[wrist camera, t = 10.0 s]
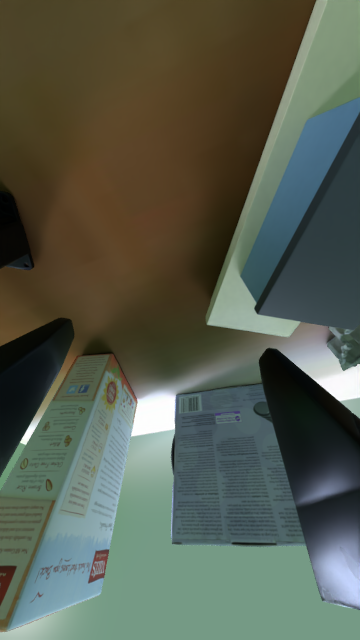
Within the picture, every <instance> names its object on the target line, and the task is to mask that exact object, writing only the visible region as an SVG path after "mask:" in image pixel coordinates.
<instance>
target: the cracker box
mask: <svg viewBox="0 0 360 640" xmlns="http://www.w3.org/2000/svg"><path fill="white" fill-rule="evenodd" d="M136 407H137V399H136V397H135V395H134V393H133V392H132V390H131V388H130V386H129V384H128V382H127V380H126V378H125V376H124V374H123V372H122V370H121V368H120V366H119V365H118V362H117V361H116V359H115V357H114V355H113V354H98V355H84V356H77V357H76V359H75V360H74V362H73V364H72V366H71V367H70V369H69V371H68V372H67V374H66V376H65V378H64V380H63V381H62V383H61V385H60V386H59V388H58V390H57V392H56V394H55V395H54V397H53V399H52V401H51V402H50V404H49V406H48V408H47V409H46V411H45V413H44V415H43V416H42V418H41V420H40V422H39V423H38V425H37V427H36V429H35V431H34V432H33V434H32V436H31V438H30V439H29V441H28V443H27V445H26V446H25V448H24V450H23V452H22V454H21V456H20V457H19V459H18V461H17V462H16V464H15V466H14V468H13V469H12V471H11V473H10V475H9V476H8V478H7V480H6V482H5V483H4V485H3V487H2V489H1V490H0V632H7V631H10V630H13V629H16V628H18V627H21V626H23V625H26V624H29V623H31V622H33V621H36V620H39V619H41V618H43V617H46V616H49V615H51V614H54V613H56V612H58V611H61V610H63V609H65V608H68V607H70V606H73V605H75V604H78V603H81V602H83V601H86V600H88V599H91V598H93V597H96V596H98V595H100V593H101V590H102V585H103V580H104V575H105V569H106V564H107V559H108V554H109V548H110V542H111V538H112V532H113V527H114V522H115V516H116V511H117V506H118V501H119V494H120V490H121V484H122V479H123V474H124V469H125V464H126V459H127V453H128V448H129V443H130V438H131V433H132V428H133V422H134V417H135V412H136Z"/></svg>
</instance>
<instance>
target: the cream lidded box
mask: <svg viewBox="0 0 360 640" xmlns="http://www.w3.org/2000/svg"><path fill="white" fill-rule="evenodd" d="M358 97H360V0H316V3H315V6H314V9H313V12H312V14H311V17H310V20H309V23H308V26H307V29H306V31H305V34H304V37H303V40H302V43H301V46H300V48H299V51H298V54H297V57H296V60H295V63H294V65H293V68H292V71H291V74H290V77H289V80H288V82H287V85H286V88H285V91H284V94H283V97H282V99H281V102H280V105H279V108H278V111H277V114H276V116H275V119H274V122H273V125H272V128H271V131H270V133H269V136H268V139H267V142H266V145H265V148H264V150H263V153H262V156H261V159H260V162H259V165H258V167H257V170H256V173H255V176H254V179H253V182H252V185H251V187H250V190H249V193H248V196H247V199H246V202H245V204H244V207H243V210H242V213H241V216H240V219H239V221H238V224H237V227H236V230H235V233H234V236H233V238H232V241H231V244H230V247H229V250H228V253H227V255H226V258H225V261H224V264H223V267H222V270H221V272H220V275H219V278H218V281H217V284H216V287H215V289H214V292H213V295H212V298H211V303H210V306H209V309H208V312H207V314H206V317H205V318H206V323H207V325H212V326H219V327H225V328H232V329H238V330H245V331H251V332H258V333H264V334H271V335H277V336H284V337H289V336H290V335H291V334H292V332H293V331H294V330H295V329H296V327H297V326H298V325H299V323H300V321H294V320H287V319H281V318H275V317H269V316H263V315H258V314H257V313H256V311H255V310H254V307H255V305H256V302H255V300H254V298H253V297H252V295H251V293H250V292H249V290H248V288H247V287H246V285H245V283H244V282H243V280H242V278H241V277H240V275H241V273H242V271H243V268H244V266H245V264H246V261H247V259H248V257H249V254H250V252H251V250H252V247H253V245H254V243H255V240H256V238H257V236H258V233H259V231H260V229H261V226H262V224H263V222H264V219H265V217H266V215H267V212H268V210H269V207H270V205H271V203H272V200H273V198H274V196H275V193H276V191H277V189H278V186H279V184H280V182H281V179H282V177H283V175H284V172H285V170H286V168H287V165H288V163H289V161H290V158H291V156H292V154H293V151H294V149H295V147H296V144H297V142H298V140H299V137H300V135H301V133H302V130H303V128H304V126H305V123H306V121H307V120H308V119H310V118H312V117H315V116H317V115H319V114H322V113H324V112H326V111H328V110H331V109H333V108H335V107H338V106H340V105H342V104H345V103H347V102H349V101H351V100H354V99H356V98H358Z"/></svg>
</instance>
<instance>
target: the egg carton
mask: <svg viewBox="0 0 360 640" xmlns="http://www.w3.org/2000/svg"><path fill="white" fill-rule="evenodd" d="M329 329H330V330H331V331H332V332H333V333H334V335H335V337H334V338H333V339H332V340H330V341H329V342H328V343H327V347H328V348H329V349H330V350H331V351H332V352H333V353H334V355H335V356H336V357H337V358H338V359H339V362H340V364H341V367H342V370H343V371H345V370H346V369H348V368H350V367H353V366H357V364H360V325H359V326H358V327H357V328H356V329H354V330H348V329H342V328H336V327H330V326H329Z"/></svg>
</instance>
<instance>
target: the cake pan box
mask: <svg viewBox="0 0 360 640" xmlns="http://www.w3.org/2000/svg"><path fill="white" fill-rule="evenodd" d="M171 460H172V461H171V462H172V470H173V475H174V482H173V495H172V523H171V539H172V544H176V545H217V546H218V545H219V546H246V547H247V546H249V547H250V546H251V547H270V546H306V543H305V539H304V536H303V532H302V529H301V525H300V521H299V518H298V514H297V511H296V505H295V503H294V499H293V496H292V492H291V488H290V485H289V481H288V478H287V474H286V470H285V467H284V463H283V460H282V456H281V452H280V449H279V445H278V442H277V438H276V434H275V431H274V427H273V424H272V420H271V416H270V413H269V409H268V406H267V402H266V398H265V394H264V390H263V385H262V384H258V385H250V386H242V387H237V386H236V387H228V388H221V389H214V390H212V391H205V392H198V393H191V394H183V395H182V394H180V395H176V399H175V435H174V438H173V443H172V451H171Z"/></svg>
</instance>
